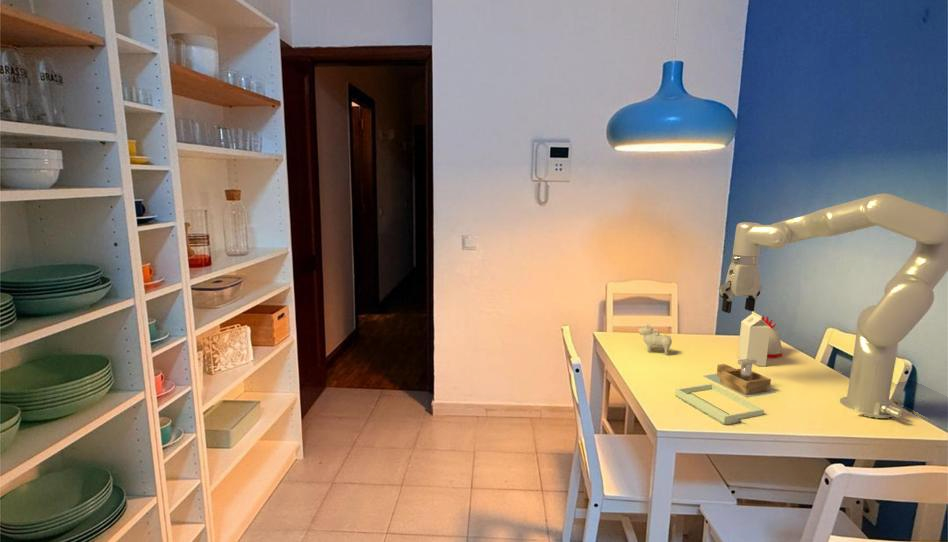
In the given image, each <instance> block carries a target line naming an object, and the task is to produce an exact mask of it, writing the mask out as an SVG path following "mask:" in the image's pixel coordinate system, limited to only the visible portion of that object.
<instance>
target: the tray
mask: <svg viewBox="0 0 948 542" xmlns="http://www.w3.org/2000/svg"><path fill="white" fill-rule="evenodd" d="M706 390H707V391H708V390H713V391H715V392H716V393H719V394H720V395H722V396H724V397H726V398H728V399H730V400H732V401H734V402H736V403H738V404H740V405H741V406H744V407H746V408H748V409H749V410H747V411H741V412H736V413H735V412H734V413H731V414H730V413H728V412H726V411H724V410H723V409H721V408H719V407H717V406H715V405H714V404H713V403H710V402H709V401H706V400H705V399H702V398H701V397H699V396H697V395H696V394H694V392H695V393H696V392H700V391H701V392H702V391H706ZM675 396H676V397H675V398H677V397H678V398H677V399H679V400H680V399H681V400H680V401H682V402H684V403H685V402H686V404H687V405H689V406H691V407H692V408H694V409H696V410H698V411H699V412H701V413H703V414H704V415H706V416H708V417H709V418H711V419H713V420H715V421H717V422H718V423H720V424H721V425H723V426H725V425H726V426H727V425H731V424H732V425H733V424H737V423H742V422H743V420H741V419H747V418H752V417H757V416H758V417H759V416H763V415H764V412H765V408H764V409H763V408H761V407H760V406H758V405H756V404H754V403H752V402H750V401H747V400H746V399H744V398H742V397H740V396H738V395H735V394H734V393H732V392H729V391H728V390H727V389H724V388H722V387H720V386H718V385H715V384H714V383H707V384H699V385H693V386H692V385H691V386H688V387H687V386H686V387H682V388H681V387H680V388H675Z"/></svg>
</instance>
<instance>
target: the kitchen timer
mask: <svg viewBox="0 0 948 542" xmlns="http://www.w3.org/2000/svg"><path fill="white" fill-rule="evenodd" d="M762 320H763V321H764V322H765V323H766V324H767V325H768V326H769V327H770V335H769V343H768V352H767V359H779V358H781V357H782V354H783V348H782V347H783V346H782V341H781V338H780V335H779V333H778V332H777V331H776V330H775V327H776V325H777V323H775V324H772V323H773V319H771V320H770V321H769V316H766V318H765V316H764V315H762ZM778 357H779V358H778Z"/></svg>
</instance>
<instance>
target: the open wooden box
mask: <svg viewBox="0 0 948 542" xmlns="http://www.w3.org/2000/svg"><path fill="white" fill-rule="evenodd" d="M716 367H717V368H716V374H717V376H718V377H720V383H722V384H724V385H726V386H728V387H730V388H732V389H734V390H736V391H738V392H740V393H742V394H744V395H749V394H755V393H761V392H767V391H770V390H771V383H772V382H771V381H772V379H771V378H770V377H766V376H764V375H762V374H759V373H758V372H755V371H753V370H752V371H751V380H750V381H745V380H743V379H741V378H740V373H741V368H735V367H732V366H731V365H728V364H725V363H721V364H717V366H716Z"/></svg>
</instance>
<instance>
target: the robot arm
mask: <svg viewBox="0 0 948 542" xmlns="http://www.w3.org/2000/svg"><path fill="white" fill-rule="evenodd" d="M876 226H878V227H881V228H882V229H885V230H887V231H891V232H893V233H895V234H897V235H901V236H903V237H907V238H909V239H912V240H914V241H915V247H914V249H913V252H912V253H911V255H910V256H909V257H908V259H907V260H905V263H904V264H903V265H902V266H901V268H900V269H899V270H898V271H897V272H896V273H895V275H894V276H893V277H892V278H891V279H890V280H889V281H888V282H887V283H886V285H885V286H884V290H883V291H884V295H883V296H882V297H881V298H880V300H879V301H878V302H877V303H876V304H875V305H874V304H873V305H871V306H867V307H865V308H864V309H863V310H862V311H861V312H860V313H859V316H858V317H857V323H856V333H855V341H854V349H853V355H852V362H851V368H850V374H849V382H848V389H847V393H846V396H843V397H841V398H840V399H839V402H840V404H841V405H842V406H844V407H845V408H847V409H849V410H852V411H854V412H857V413H859V416H862V415H864V417H866V416H868V417H867V418H871V417H875V418H874V419H878V418H888V419H890V418H889V417H892V416H893V417H895V418H897V419H901V417H902V416H903V409H902V408H899V407H895V406H894V400H892V399H890V394H891V391H892V383H893V378H894V373H895V365H896V361H897V355H898V348H899V343H900V342H902V341H903V340H904V339H905V338H906V336H907V335H909V334H910V332H911V331H912V330H913V329H914V328H915V327H916V325H918V323H919V322H920V321H921V320H923V317H924V316H925V315H926V314H927V313H928V312H929V310H930V309H931V307H932V305H933V304H934V301H935V293H934V289H935V288H936V287H937V285H938V284H939V283H940V281H942V279H943V278H944V277H945V275H946V274H947V273H948V213H946V212H943V211H941V210H937V209H934V208H931V207H928V206H924V205H922V204H919V203H916V202H913V201H910V200H908V199H905V198H902V197H899V196H897V195H894V194H890V193H876V194H873V195H869V196H865V197H861V198H858V199H855V200H851V201H848V202H844V203H840V204H836V205H833V206H829V207H825V208H823V209H819V210H816V211H814V212H811V213H807V214H804V215H801V216H796V217H793V218H790V219H786V220H781V221H778V222H775V223H771V224H761V223H759V222H749V221H748V222H747V221H743V222H739V223H737V224H736V228H735V235H734V240H733V242H734V243H733V248H732V249H733V250H732V257H730V262H731V263H730V265H729V267H728V270H727V274H726V279H725V282H724V284H722V285H721V286H718V291H719V296H720V297H721V300H722V303H721V304H722V306H721V311H722V312H723V313H727V314H731V312H732V305H733V301H732V299H733V298H734V297H746V299H745V303H744V304H745V305H744V309H745V310H747V311H749V312H752V311H753V312H755V306H756V300H758V296H760V295H761V292H762V290H763V289H764V286H763V285H762V284H761V283H760V282H761V281H760V279H761V278H760V277H761V276H760V275H761V271H760V265H759V257H760V251H761V247H763V248H768V249H773V250H774V249H775V250H776V249H777V250H778V249H781V248H783V247H785V246H786V245H787V244H792V243H796V242H800V241H804V240H808V239H813V238H821V237H823V238H824V237H833V236H834V237H836V236H839V235H843V234H847V233H851V232H855V231H859V230H864V229H869V228H871V227H876ZM893 417H892V418H893Z"/></svg>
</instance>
